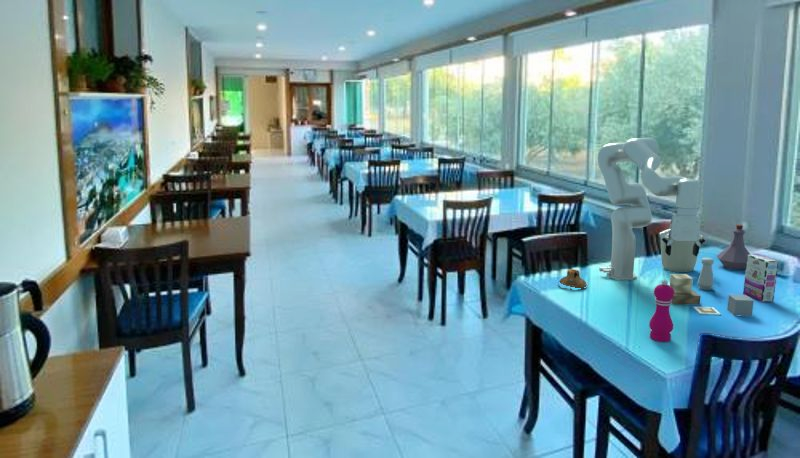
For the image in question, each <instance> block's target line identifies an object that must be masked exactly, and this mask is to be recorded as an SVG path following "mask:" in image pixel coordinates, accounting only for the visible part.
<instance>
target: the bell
mask: <svg viewBox="0 0 800 458" xmlns="http://www.w3.org/2000/svg"><path fill="white" fill-rule="evenodd" d="M566 272H567V273H566V276H563V277H562V278H561V279H560V280H559V281H558V283H559V282H560V283H561V284H563V285H566V286H570V287H575V288H581V289H582V288H584V287H586V286H587V287H588V284H587V282H586V281H585V280H584V279H583V278H582V277H581V275H580V271H579V270H578V269H573V268H572V269H567V271H566ZM587 287H586V288H587Z"/></svg>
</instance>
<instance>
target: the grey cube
mask: <svg viewBox="0 0 800 458" xmlns="http://www.w3.org/2000/svg"><path fill="white" fill-rule="evenodd" d="M727 299H728V300H727V308H726V309H727V311H728V312H729V313H731V315H733V316H736V315H741V316H740V317H753V310H754V309H753V308H754V302H755V301H754V300H755V299H753V298H752V297H749V296H747V295H745V294H728V298H727Z"/></svg>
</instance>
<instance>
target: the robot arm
mask: <svg viewBox="0 0 800 458" xmlns="http://www.w3.org/2000/svg"><path fill="white" fill-rule="evenodd" d="M659 151H660V146H659V143H658V141H657V140H655V138H652V137H637V138H635V137H634V138H631V139H628V140H627V141H626V142H613V143H607V144H605V145H603V146H602V147H600V149H599V151H598V152H597V163H598V168H599V170H600V172H601V174H602V176H603V179H604V184H605V187H606V191H607V195H608V197H609V201H610V202H611V204H613V205H615V206H621V207H618V208H616V209H614V210H613V212H612V213H611V217H610V221H611V229H612V239H611V253H610V254H611V255H610V257H611V259H610V264H609V265H608V266H607V267H605V266H604V267H603V266H600V267H599V270H598V271H599V272H603V273H606V277H607V276H608V277H607V278H609V277H610V278H609V279H611V278H613V279H612V280H615V279H616V281H634V280H636V279H637V278H638V275H637V274H636V273H634V270H635V269H634V268H635V255H636V253H635V252H636V235H635V233H634V232H633V229H635V228H644V227H648V226H649V225H650V224H651V222H652V219H653V215H652V211H651V210H652V209H651V206H650V203H649V199H648V195H647V192H646V190H645V188H646V189H647V190H648V191H649V192H650V193H651V194H653V195H654V196H657V197H670V196H676V199H675V206H674V207H673V208H671V210H670V212H671V213H673V214H672V216H671V220H670V224H669V228H668V229H665V230H666V231H664V230H663V231H664V232H662V231H661V233H660V232H659V233H660V234H659V233H658V235H659V238H660V240H661V239H662V241H663V242H664V243H665V244H666V248H665V252H666V254H667V255H668V256H670V255H671V243H672V242H673V241H676V242H694V243H695V244H694V245H693V255H694V256H697V254H698V255H699V253H700V247H701V246H702V244H704V243H705V242H706V240H707V239H708V237H709V234H707V233H706V232H704V231H702V230H701V222H700V220H701V219H700V215H698V207H699V206H698V205H699V198H700V189H701V188H700V187H701V182H700V180H699V179H696V178H688V177H685V176H682V175H672V176H671V175H670V176H661V175H659V174H658V173H657V172H656V170H658V168H659V167H660V165H661V157H660V156H659V155H658V153H659ZM626 162H627V163H628V162H629V163H631V162H632V163H633V164H634V165H635V166H637V168H638V169H639V170H640V175H641V176H640V177H641V182H642V184H641V183H639V182H628V181H627V179H626V177H625V173H624V171H623V170H622V168H621V167H620V166H619V165H618V164H617V163H626ZM643 185H644V187H645V188H644V187H643ZM623 205H624V206H623ZM625 205H626V206H625ZM627 205H630V206H627ZM667 234H669V238H668V239H667V240H666V239H665V235H667ZM700 235H702V238H701V239H700V240H699V238H700ZM699 246H700V247H699ZM697 257H698V256H697Z"/></svg>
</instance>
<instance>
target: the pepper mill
mask: <svg viewBox="0 0 800 458" xmlns="http://www.w3.org/2000/svg"><path fill="white" fill-rule="evenodd" d="M653 295H654V297H655V298H654V303H655V311H654V313H653V315H652V316H651V318H650V319H649V323H648V328H649V329H650V330H651V331H650V332H649V338H650V339H651V340H653V341H656V342H658V343H659V342H660V343H667V342H670V341H671V340H672V339H671V338H672V334H671V333H672V332H673V331H674V323H673V320H672V317H671V314H670V307H671V306H672V305H673V304H672V303H671V302H672V300H671V298H673V296H674V290H673V288H672V287H671V286H670V284H669V283H668V280H666V279H663V280H662V281H661V284H657V285H656V286H655V287H654V289H653Z"/></svg>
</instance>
